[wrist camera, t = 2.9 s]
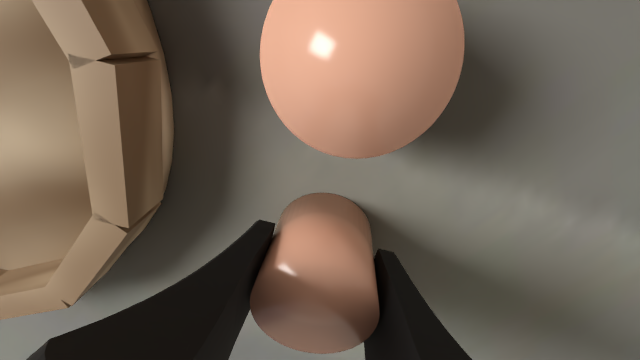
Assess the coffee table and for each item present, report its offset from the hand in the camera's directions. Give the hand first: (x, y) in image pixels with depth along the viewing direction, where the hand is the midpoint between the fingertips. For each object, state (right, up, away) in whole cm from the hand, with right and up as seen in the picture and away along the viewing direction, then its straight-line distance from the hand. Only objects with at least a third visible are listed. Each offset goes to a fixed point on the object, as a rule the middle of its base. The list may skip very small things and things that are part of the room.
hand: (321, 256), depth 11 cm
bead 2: (0, +1, +1) cm, 1 cm away
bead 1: (+1, +7, -2) cm, 7 cm away
